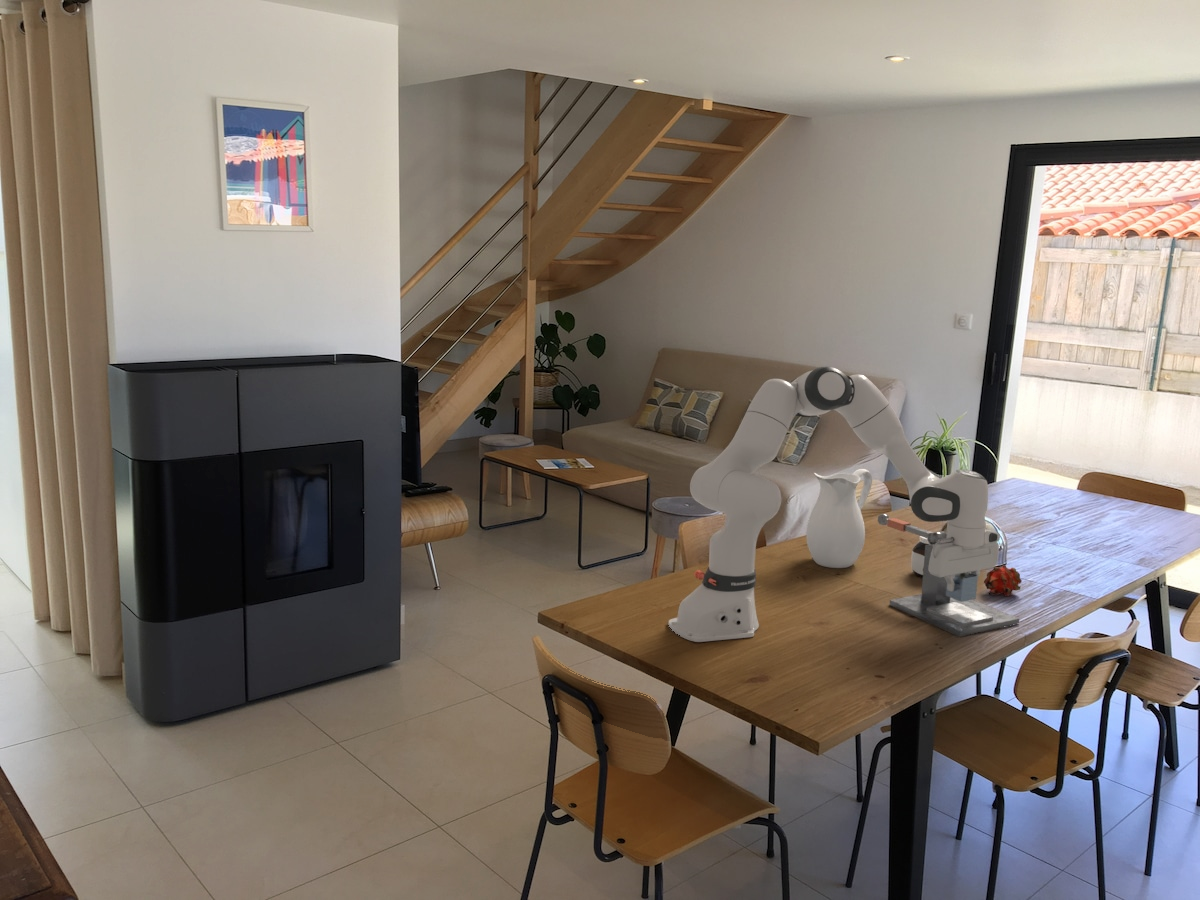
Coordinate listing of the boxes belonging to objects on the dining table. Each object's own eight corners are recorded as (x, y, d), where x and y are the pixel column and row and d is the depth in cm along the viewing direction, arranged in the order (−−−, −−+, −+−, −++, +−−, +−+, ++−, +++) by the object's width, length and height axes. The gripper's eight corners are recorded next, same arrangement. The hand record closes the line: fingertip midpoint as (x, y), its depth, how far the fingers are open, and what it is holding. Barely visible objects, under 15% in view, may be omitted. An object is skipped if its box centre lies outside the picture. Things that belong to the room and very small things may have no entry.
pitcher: (837, 575, 274) (842, 481, 269) (793, 560, 287) (797, 470, 282) (889, 560, 288) (895, 471, 283) (845, 547, 301) (850, 461, 296)
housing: (961, 601, 235) (963, 571, 233) (945, 595, 239) (948, 565, 238) (975, 598, 237) (978, 568, 235) (960, 592, 241) (962, 563, 240)
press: (959, 637, 229) (965, 571, 225) (889, 605, 250) (893, 544, 247) (1018, 624, 237) (1024, 560, 234) (946, 594, 258) (950, 536, 255)
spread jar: (906, 574, 275) (909, 535, 273) (924, 566, 283) (927, 528, 281) (946, 584, 267) (949, 544, 265) (963, 575, 275) (967, 536, 273)
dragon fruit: (1019, 596, 262) (988, 609, 257) (999, 572, 267) (968, 584, 262) (1035, 579, 256) (1003, 591, 251) (1013, 554, 260) (982, 566, 255)
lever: (935, 546, 244) (936, 534, 244) (873, 524, 265) (874, 513, 264) (947, 544, 246) (948, 532, 245) (884, 522, 266) (885, 511, 266)
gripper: (944, 543, 228) (939, 598, 230) (1005, 533, 237) (1000, 586, 239) (924, 537, 233) (920, 590, 236) (984, 527, 242) (980, 579, 245)
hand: (961, 588), depth 238 cm, fingers closed on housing, 5 cm apart
